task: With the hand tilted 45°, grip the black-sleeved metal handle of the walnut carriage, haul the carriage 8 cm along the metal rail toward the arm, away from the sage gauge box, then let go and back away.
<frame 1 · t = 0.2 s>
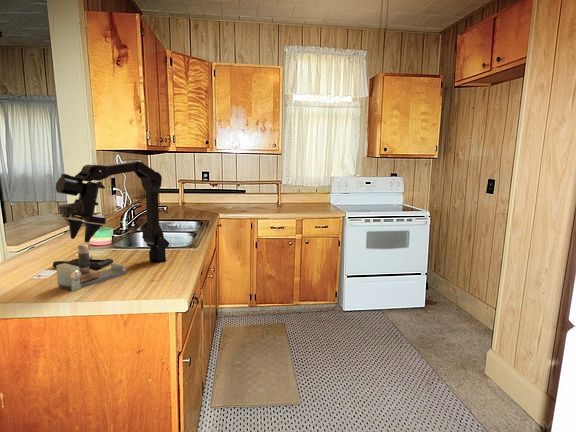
hand: (79, 240, 128), 15 cm above the worktop, tool tilted 15°, fingers open, 9 cm apart
door handle: (86, 266, 151), on the worktop
rail: (96, 279, 133), on the worktop
carriage: (84, 262, 128), point 8 cm above the worktop, slide at 0.0 cm
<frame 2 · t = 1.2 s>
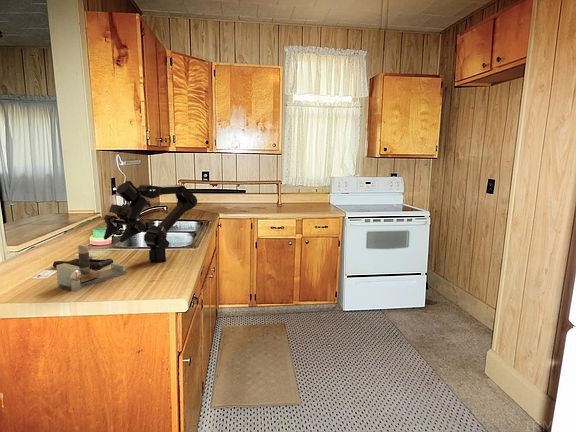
hand: (112, 240, 137), 14 cm above the worktop, tool tilted 45°, fingers open, 9 cm apart
nothing on the worktop moved.
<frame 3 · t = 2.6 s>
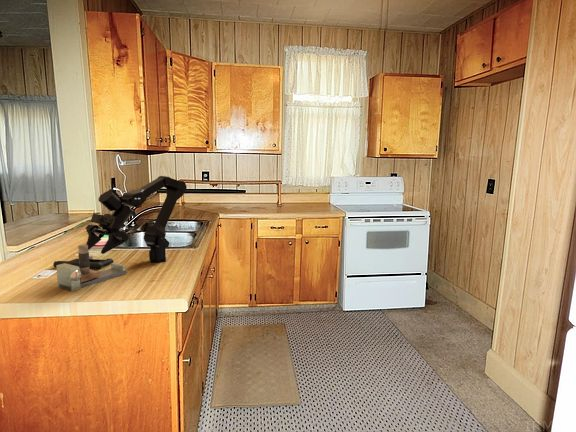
hand: (93, 251, 131), 11 cm above the worktop, tool tilted 45°, fingers open, 9 cm apart
nothing on the worktop moved.
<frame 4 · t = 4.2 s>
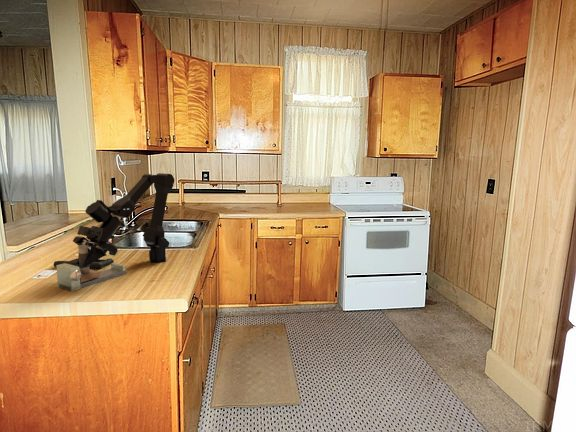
hand: (80, 265, 127), 7 cm above the worktop, tool tilted 45°, fingers closed on carriage, 3 cm apart
carriage: (84, 262, 128), point 8 cm above the worktop, slide at 0.0 cm, touching gripper
everything else where it was.
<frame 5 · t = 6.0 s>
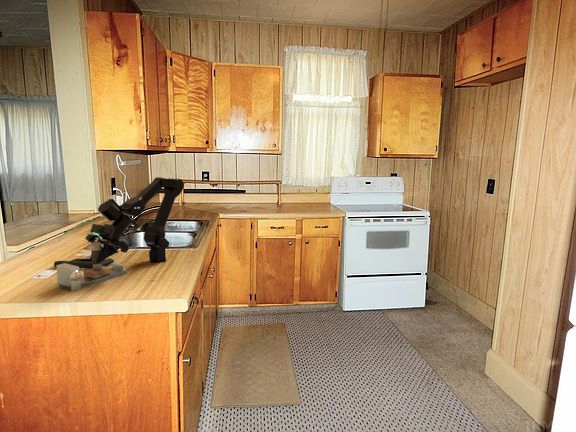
hand: (93, 261, 131), 7 cm above the worktop, tool tilted 45°, fingers closed on carriage, 3 cm apart
carriage: (96, 258, 132), point 8 cm above the worktop, slide at 4.9 cm, touching gripper
everything else where it was.
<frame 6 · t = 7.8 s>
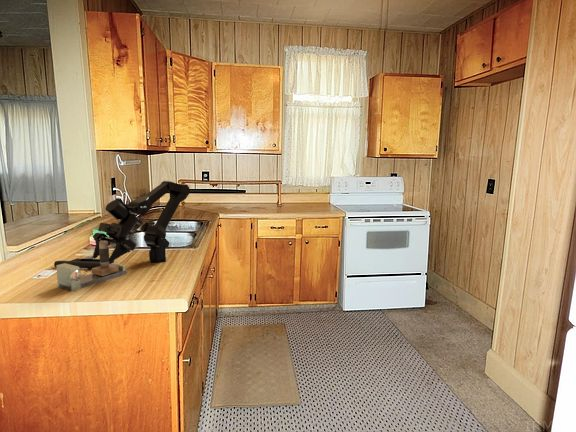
hand: (101, 259, 134), 7 cm above the worktop, tool tilted 45°, fingers open, 9 cm apart
carriage: (104, 256, 135), point 8 cm above the worktop, slide at 8.0 cm
everything else where it was.
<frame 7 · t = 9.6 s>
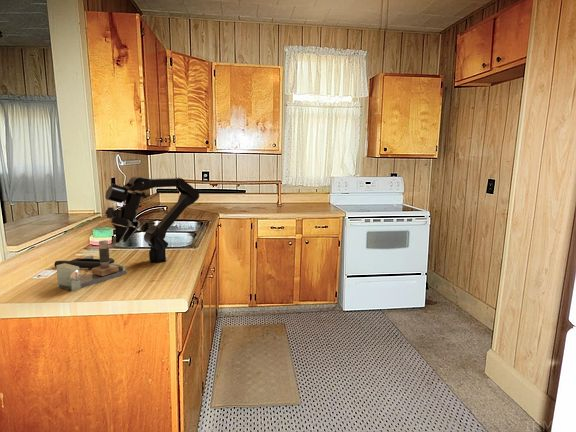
hand: (120, 242, 146), 11 cm above the worktop, tool tilted 20°, fingers open, 9 cm apart
nothing on the worktop moved.
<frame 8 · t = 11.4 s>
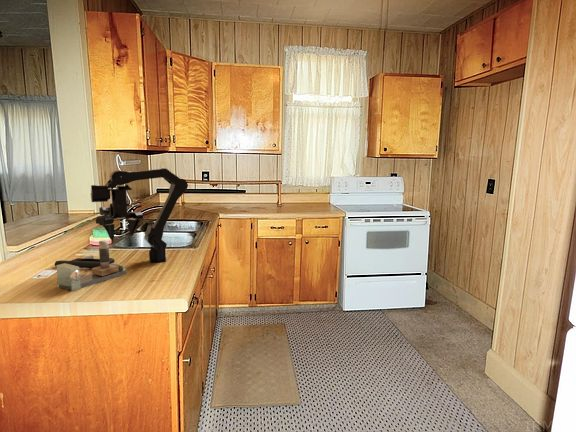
hand: (121, 237, 149), 12 cm above the worktop, tool pointing down, fingers open, 9 cm apart
nothing on the worktop moved.
at the end: carriage slide at 8.0 cm; the gripper is holding nothing; door handle moved 1.1 cm from its start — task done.
